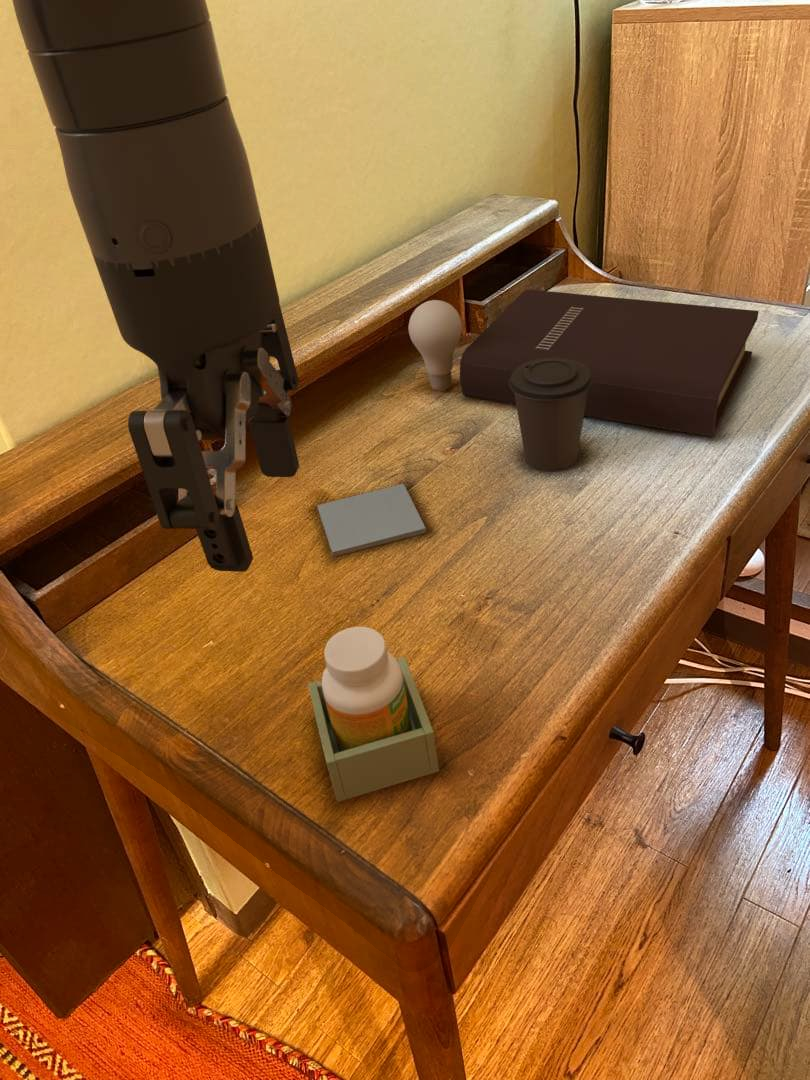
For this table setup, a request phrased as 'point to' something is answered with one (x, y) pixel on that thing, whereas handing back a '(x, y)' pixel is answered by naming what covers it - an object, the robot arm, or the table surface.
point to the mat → (370, 519)
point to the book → (620, 355)
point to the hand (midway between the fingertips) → (259, 517)
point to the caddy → (378, 748)
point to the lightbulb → (436, 339)
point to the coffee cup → (551, 410)
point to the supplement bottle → (363, 689)
